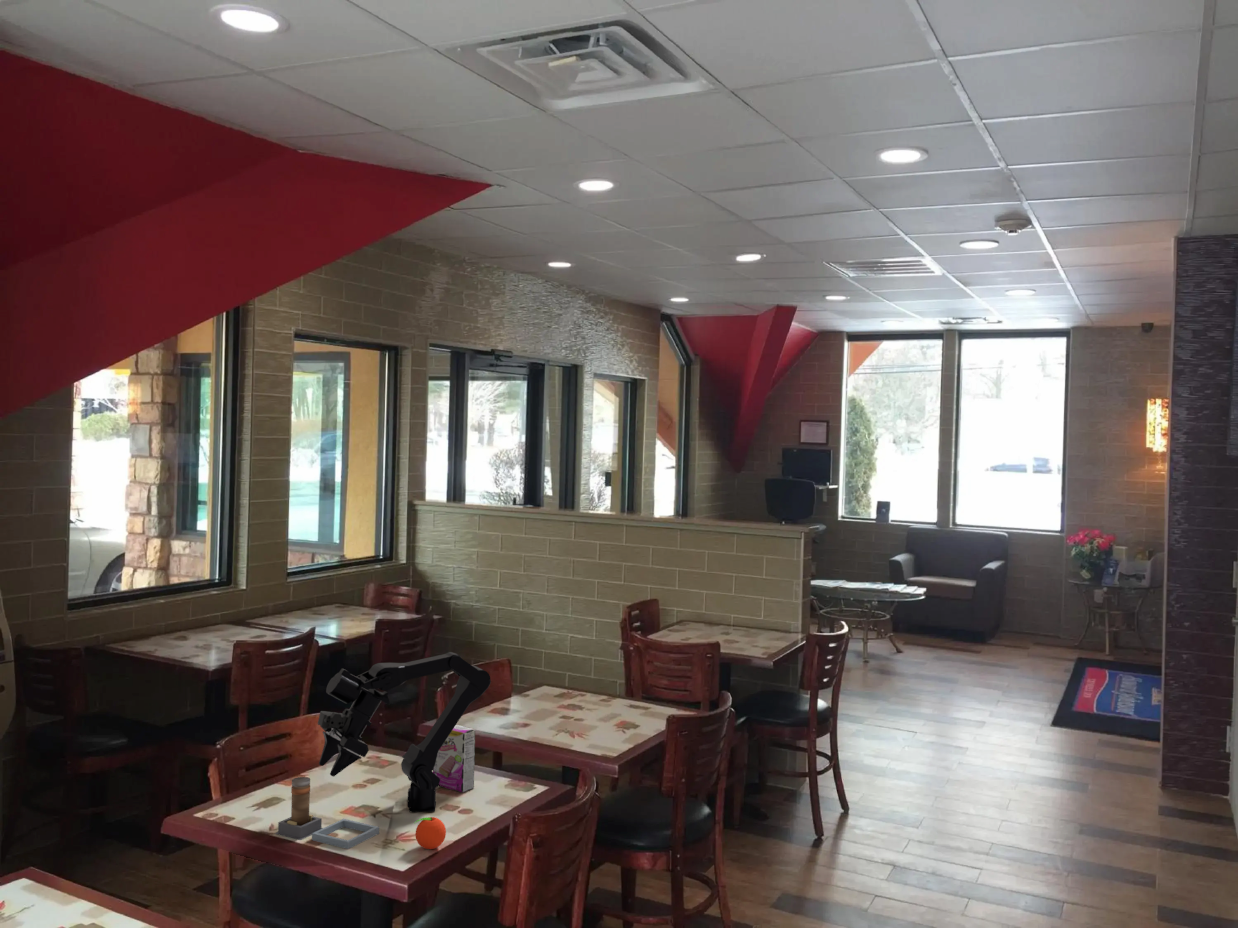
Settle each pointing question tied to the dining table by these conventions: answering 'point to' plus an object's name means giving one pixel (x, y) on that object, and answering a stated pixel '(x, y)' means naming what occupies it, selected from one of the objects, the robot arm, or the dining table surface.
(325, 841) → the tray
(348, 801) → the dining table surface
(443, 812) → the dining table surface
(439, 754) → the candy bar box
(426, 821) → the clementine
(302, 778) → the peg
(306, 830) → the socket block
